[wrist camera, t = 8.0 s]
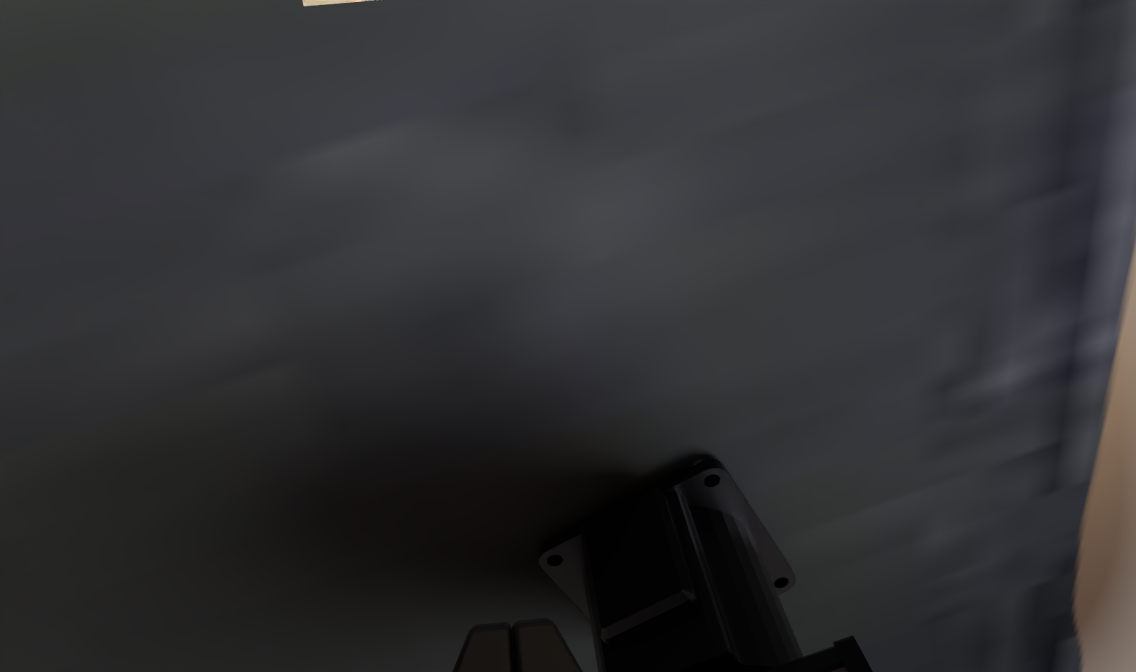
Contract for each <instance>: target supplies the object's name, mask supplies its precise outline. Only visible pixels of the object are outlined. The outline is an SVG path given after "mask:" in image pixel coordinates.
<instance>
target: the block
mask: <svg viewBox="0 0 1136 672" xmlns="http://www.w3.org/2000/svg"><path fill="white" fill-rule="evenodd" d="M359 1H371V0H303V5H304V6H312V5H324V4H336V3H347V2H359Z"/></svg>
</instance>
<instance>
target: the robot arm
mask: <svg viewBox="0 0 1136 672" xmlns="http://www.w3.org/2000/svg"><path fill="white" fill-rule="evenodd" d="M712 474H715V476H713V477H712V478H706V477H707V476H708V475H712ZM551 555H558V556H555V557H551ZM538 558H539V564H540V566H541V568H542V569H543V570H544V571H545V572H546V573H547V574H548V575H549V576H550V577H551V579H552V580H553V581H554V582H555V583H556V584H557V585H558V586H559V587H560V588H561V589H562V590H563V592H564V593H565V594H566V595H567V596H568V597H569V598H570V599H571V600H572V601H573V602H574V603H575V604H576V606H577V607H578V608H579V609H580V610H581V611H582V612H583V613H584V614H585V615H586V616H587V617H588V618H589V620H590V624H591V630H592V636H593V642H594V648H595V654H596V660H597V666H598V672H872V670H871V668H870V666H869V664H868V662H867V660H866V659H865V657H864V655H863V653H862V651H861V649H860V647H859V646H858V644H857V642H856V640H855V638H854V636H853V635H852V636H850V637H847V638H844V639H841V640H838V641H835V642H833V644H834V646H832V647H830V648H827V649H824V650H821V651H818V652H815V653H812V654H810V655H807V656H804V657H803V654H802V652H801V650H800V647H799V645H798V642H797V640H796V637H795V635H794V633H793V630H792V628H791V625H790V623H789V621H788V618H787V616H786V613H785V611H784V609H783V606H782V604H781V601H780V599H779V597H778V595H780V594H782V593H784V592H786V591H788V590H789V589H791V588H792V587H793V586H794V585H795V582H796V578H795V575H794V573H793V571H792V569H791V567H790V565H789V564H788V562H787V561H786V559H785V558H784V556H783V555H782V553H781V551H780V550H779V548H778V547H777V545H776V544H775V542H774V541H773V539H772V538H771V536H770V535H769V533H768V532H767V530H766V529H765V527H764V526H763V524H762V523H761V521H760V519H759V518H758V516H757V515H756V513H755V512H754V510H753V509H752V507H751V506H750V504H749V503H748V501H747V500H746V498H745V497H744V495H743V494H742V492H741V491H740V489H739V488H738V486H737V484H736V483H735V481H734V480H733V478H732V477H731V475H730V474H729V472H728V471H727V469H726V468H725V466H724V465H723V464H722V463H721V462H720V461H718V460H715V459H709V460H705V461H702V462H700V463H698V464H696V465H694V466H692V467H690V468H688V469H686V470H684V471H682V472H680V473H679V474H677V475H675V476H673V477H671V478H669V479H667V480H665V481H663V482H661V483H659V484H657V485H655V486H653V487H651V488H649V489H647V490H645V491H643V492H641V493H640V494H638V495H636V496H634V497H632V498H630V499H628V500H626V501H624V502H622V503H620V504H618V505H616V506H614V507H612V508H610V509H608V510H606V511H604V512H602V513H601V514H599V515H597V516H595V517H593V518H591V519H589V520H587V521H585V522H583V523H581V524H579V525H577V526H575V527H573V528H571V529H569V530H567V531H565V532H564V533H562V534H560V535H558V536H556V537H554V538H552V539H550V540H548V541H546V542H544V543H543V544H542V545H541V546H540V547H539V549H538ZM512 636H513V643H512ZM513 652H514V657H513ZM514 668H515V672H583V671H582V669H581V668H580V666H579V664H578V663H577V661H576V659H575V657H574V656H573V654H572V652H571V651H570V649H569V647H568V646H567V644H566V642H565V640H564V639H563V637H562V635H561V634H560V632H559V630H558V628H557V627H556V625H555V624H554V623H553V622H552V621H551V620H550V619H548V618H541V619H531V620H521V621H517V622H515V623H514V625H513V626H512V629H511V626H510V625H509V624H508V623H505V622H500V623H490V624H480V625H475V626H473V627H472V628H471V629H470V631H469V632H468V634H467V637H466V639H465V642H464V644H463V647H462V649H461V652H460V654H459V657H458V659H457V662H456V664H455V667H454V669H453V671H452V672H514Z"/></svg>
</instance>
